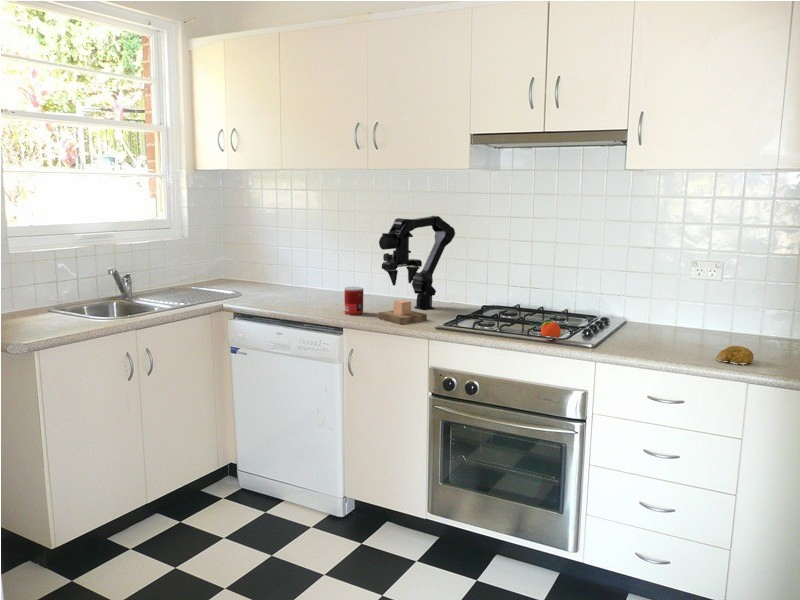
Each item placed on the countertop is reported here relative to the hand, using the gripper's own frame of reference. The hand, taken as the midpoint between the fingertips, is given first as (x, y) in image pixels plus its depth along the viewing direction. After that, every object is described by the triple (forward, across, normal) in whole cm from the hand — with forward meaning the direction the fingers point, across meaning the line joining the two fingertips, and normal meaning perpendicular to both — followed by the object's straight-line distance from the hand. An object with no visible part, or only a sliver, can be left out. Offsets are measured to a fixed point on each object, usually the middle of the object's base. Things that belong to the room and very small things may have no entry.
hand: (401, 284), depth 288 cm
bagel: (+13, -28, +128) cm, 132 cm away
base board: (+12, +12, +13) cm, 21 cm away
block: (+9, +12, +13) cm, 20 cm away
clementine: (+12, -5, +73) cm, 74 cm away
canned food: (+12, +20, -8) cm, 24 cm away
